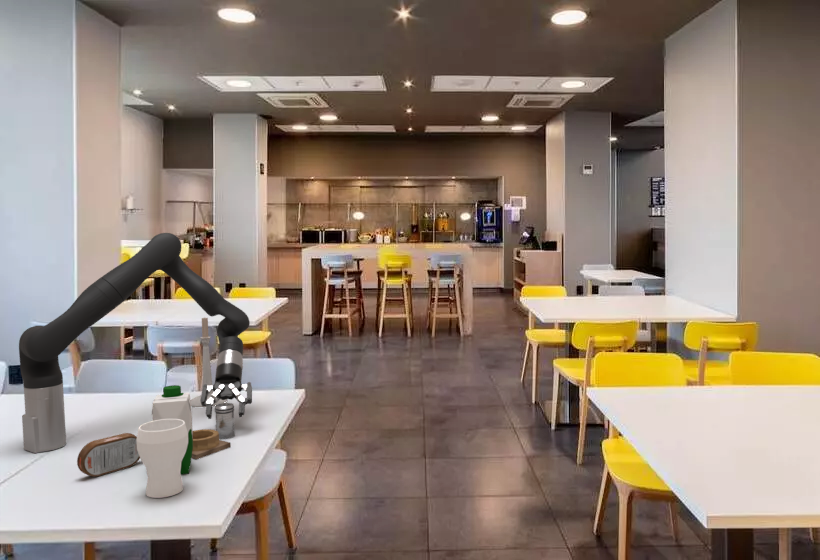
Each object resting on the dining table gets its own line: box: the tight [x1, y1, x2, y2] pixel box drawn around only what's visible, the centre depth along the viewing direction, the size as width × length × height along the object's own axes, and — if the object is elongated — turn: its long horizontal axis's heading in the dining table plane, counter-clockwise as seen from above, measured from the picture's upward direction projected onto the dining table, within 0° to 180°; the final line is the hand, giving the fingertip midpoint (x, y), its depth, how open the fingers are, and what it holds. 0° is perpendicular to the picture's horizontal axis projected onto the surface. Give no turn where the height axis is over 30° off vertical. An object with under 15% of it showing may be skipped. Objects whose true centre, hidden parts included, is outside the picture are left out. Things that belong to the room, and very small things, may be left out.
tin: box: [76, 432, 141, 478], centre depth 148 cm, size 15×3×8 cm, turn 141°
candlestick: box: [190, 317, 228, 408], centre depth 210 cm, size 13×13×30 cm
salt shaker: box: [214, 402, 236, 440], centre depth 174 cm, size 5×5×9 cm
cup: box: [136, 419, 188, 499], centre depth 135 cm, size 11×11×15 cm
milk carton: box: [151, 384, 193, 475], centre depth 148 cm, size 9×9×20 cm
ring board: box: [191, 428, 232, 460], centre depth 163 cm, size 11×11×4 cm
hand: (224, 416), depth 173 cm, fingers open, 8 cm apart
